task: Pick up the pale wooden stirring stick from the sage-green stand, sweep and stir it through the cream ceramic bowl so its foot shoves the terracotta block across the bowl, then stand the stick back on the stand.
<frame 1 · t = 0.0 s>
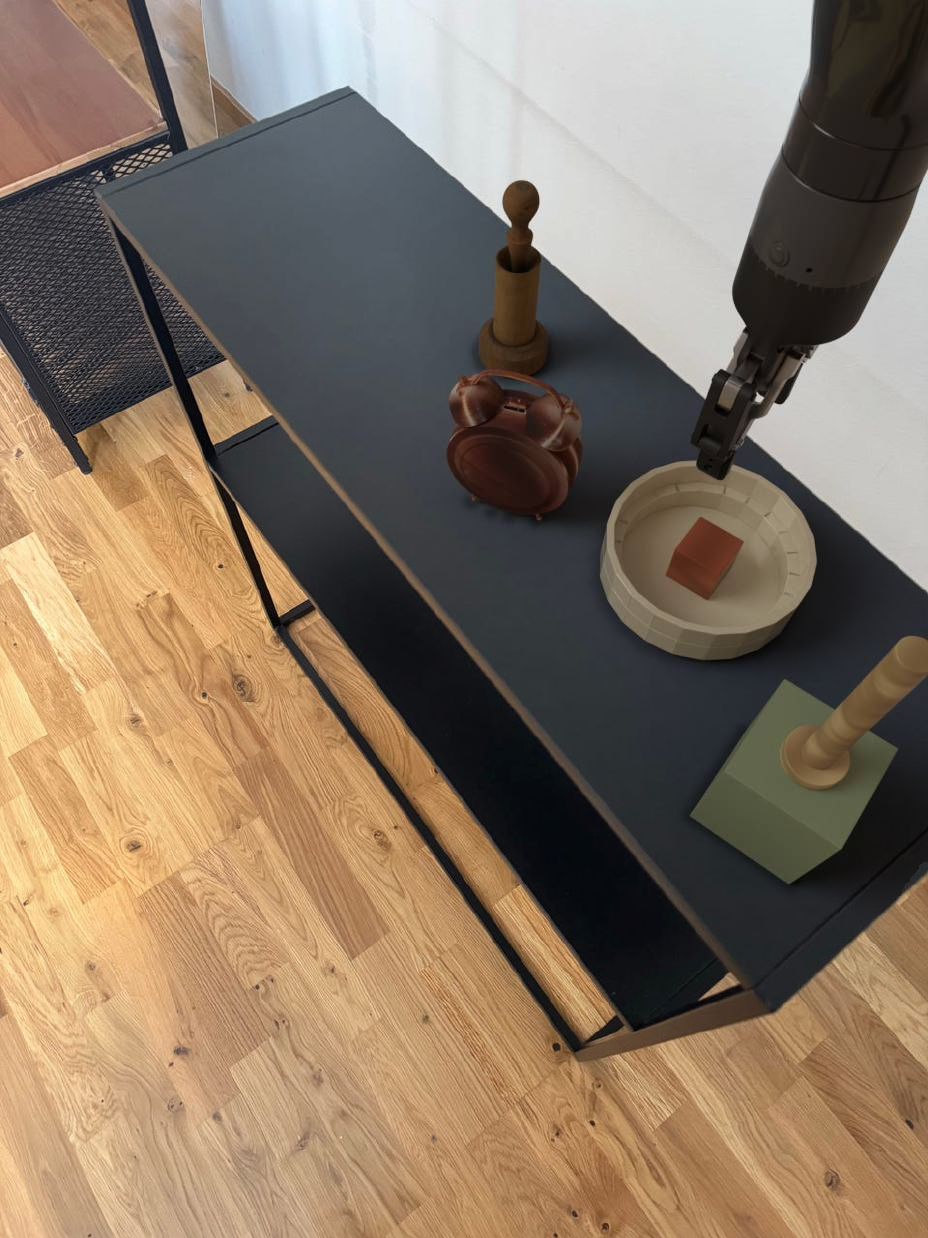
hand: (741, 433, 62), 15 cm above the table, tool pointing down, fingers open, 8 cm apart
stick: (811, 759, 55), point 10 cm above the table, touching stand
block: (698, 571, 73), point 1 cm above the table, touching bowl
bowl: (696, 575, 74), on the table
mortar and pestle: (512, 355, 86), on the table
alarm clock: (510, 499, 78), on the table
stand: (765, 806, 64), on the table
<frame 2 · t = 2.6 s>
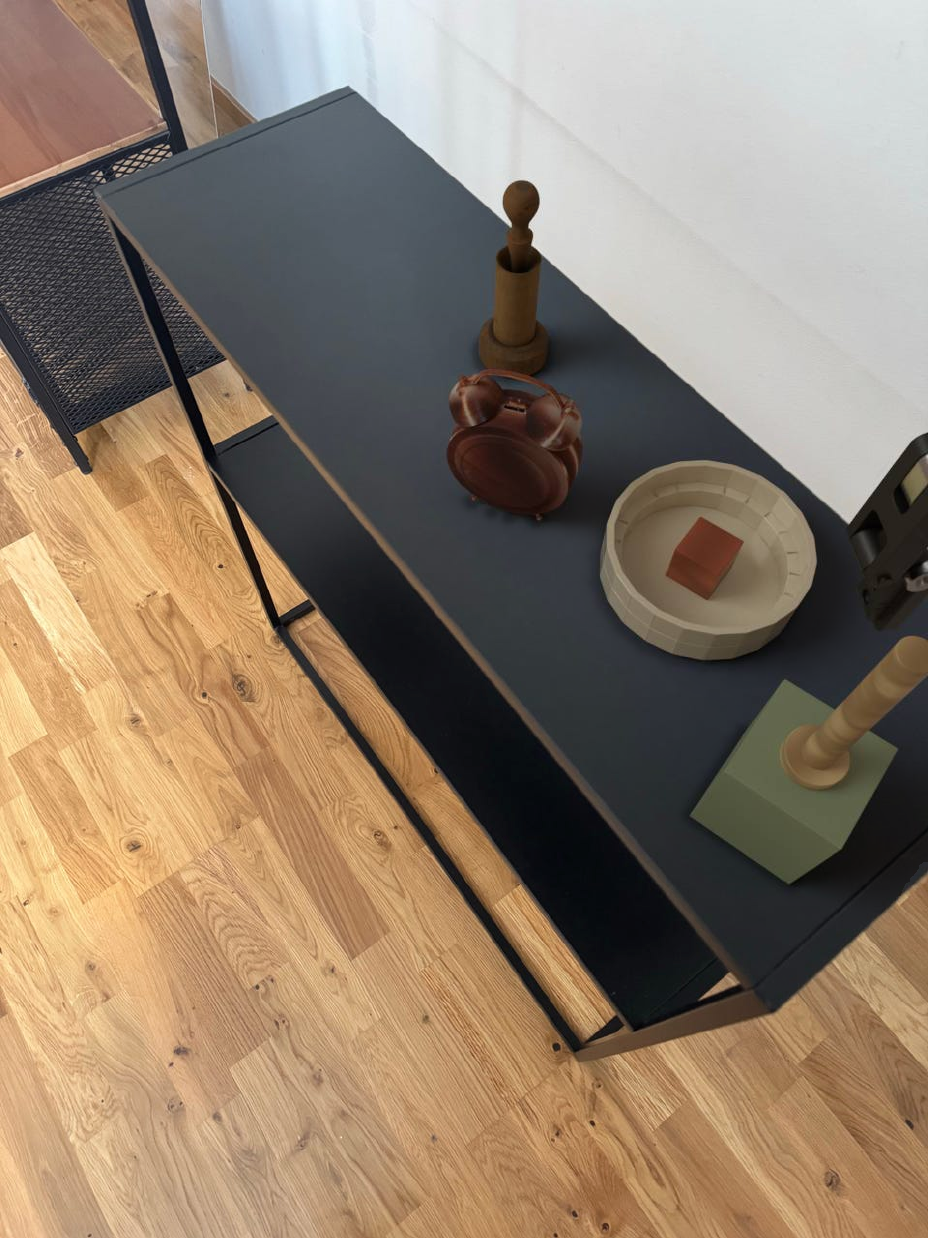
nothing on the table moved.
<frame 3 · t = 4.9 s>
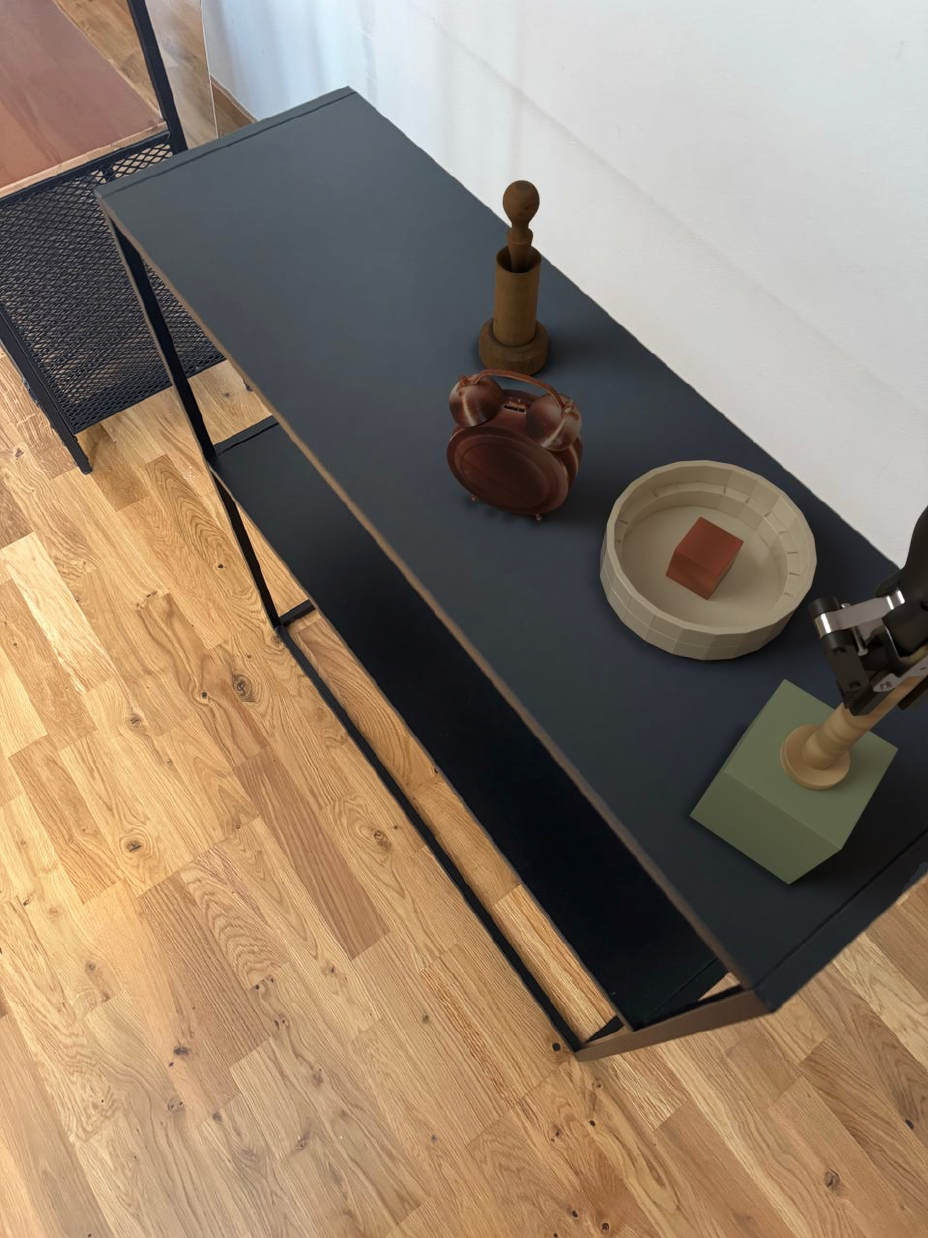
hand: (876, 695, 47), 20 cm above the table, tool pointing down, fingers closed on stick, 2 cm apart
stick: (812, 760, 55), point 10 cm above the table, touching gripper
everything else where it was.
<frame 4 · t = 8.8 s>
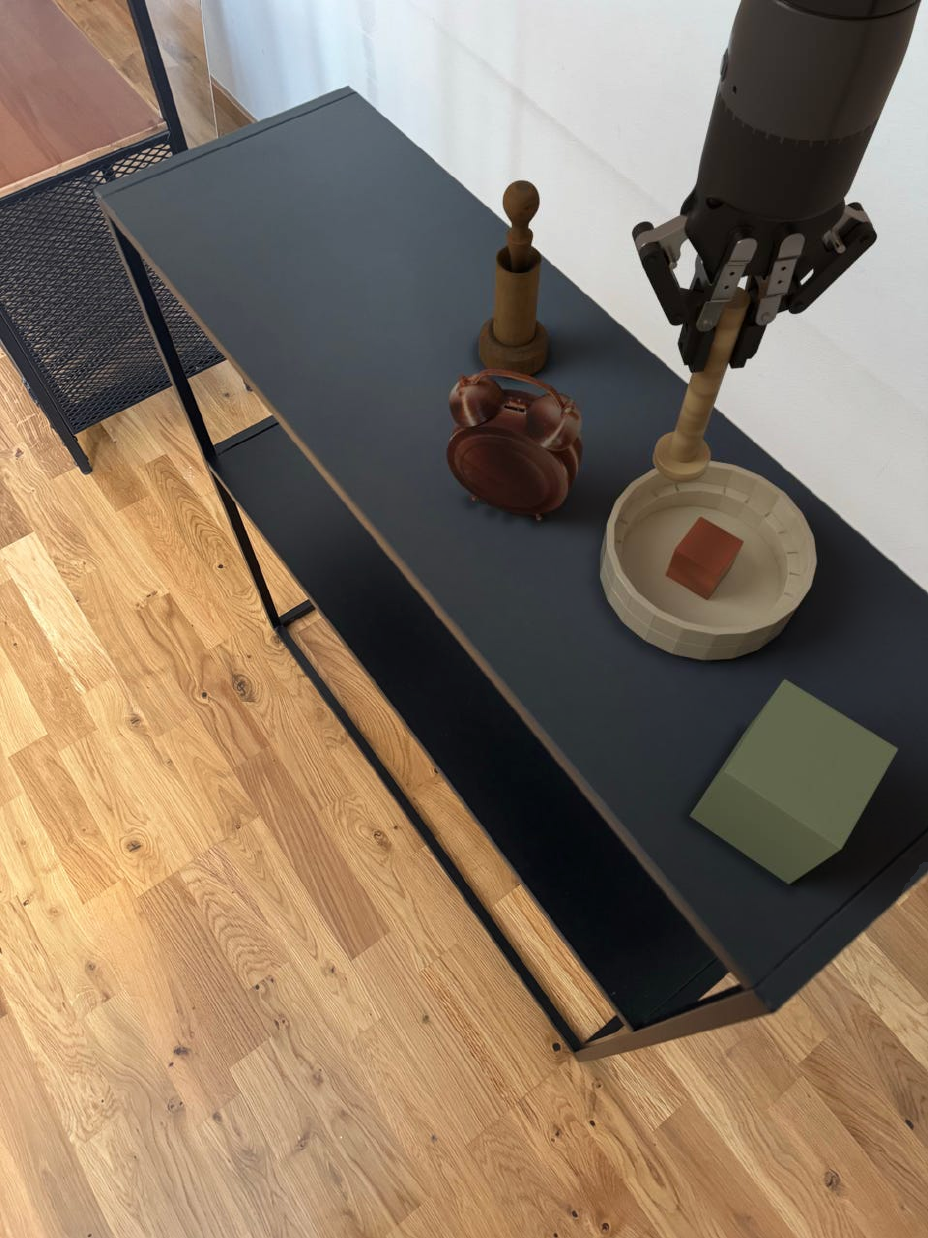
hand: (713, 359, 56), 22 cm above the table, tool pointing down, fingers closed on stick, 2 cm apart
stick: (680, 460, 65), point 12 cm above the table, touching gripper
everything else where it was.
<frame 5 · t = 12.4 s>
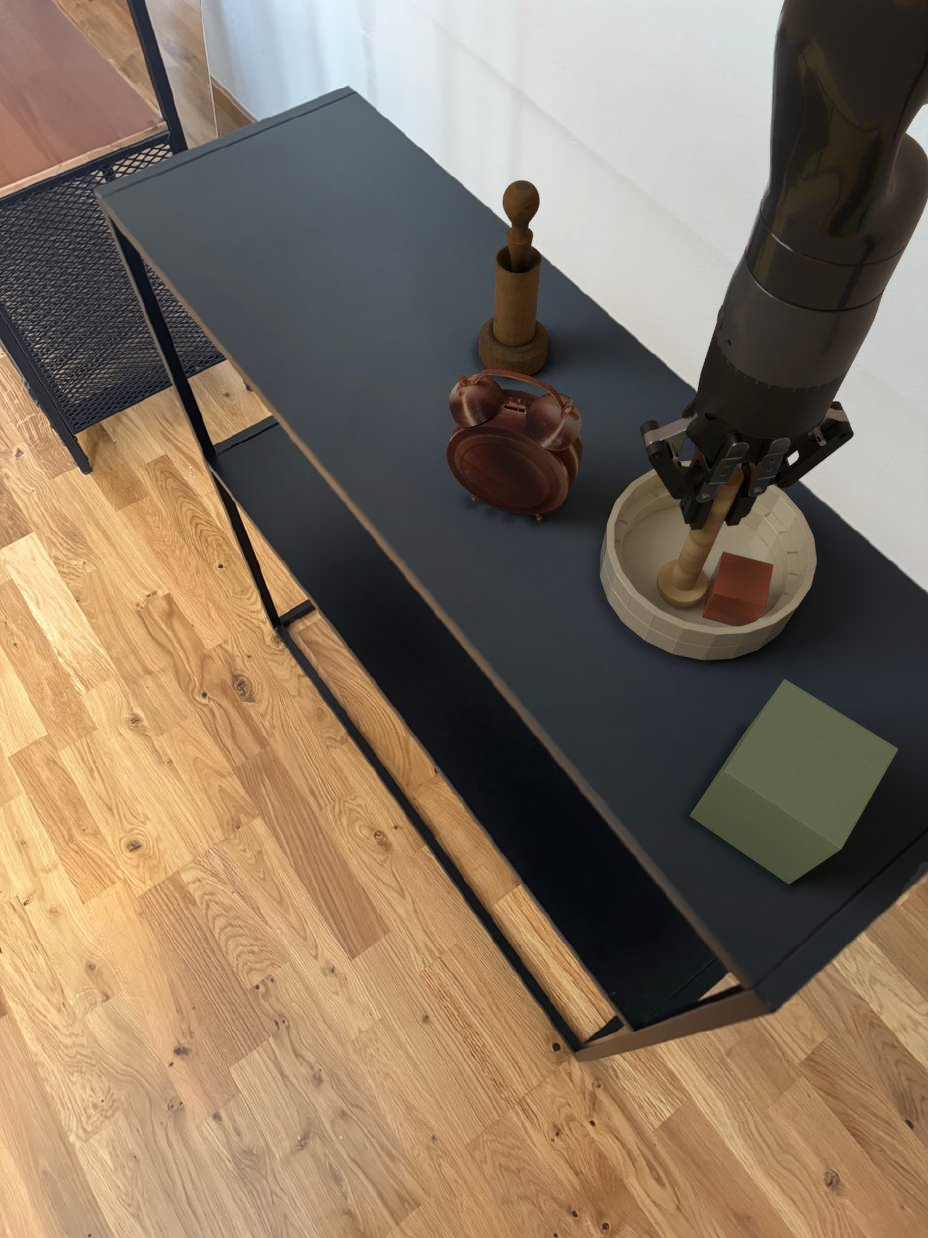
hand: (711, 517, 63), 11 cm above the table, tool pointing down, fingers closed on stick, 2 cm apart
stick: (680, 586, 72), point 1 cm above the table, touching gripper
block: (730, 603, 72), point 1 cm above the table, touching bowl
everything else where it was.
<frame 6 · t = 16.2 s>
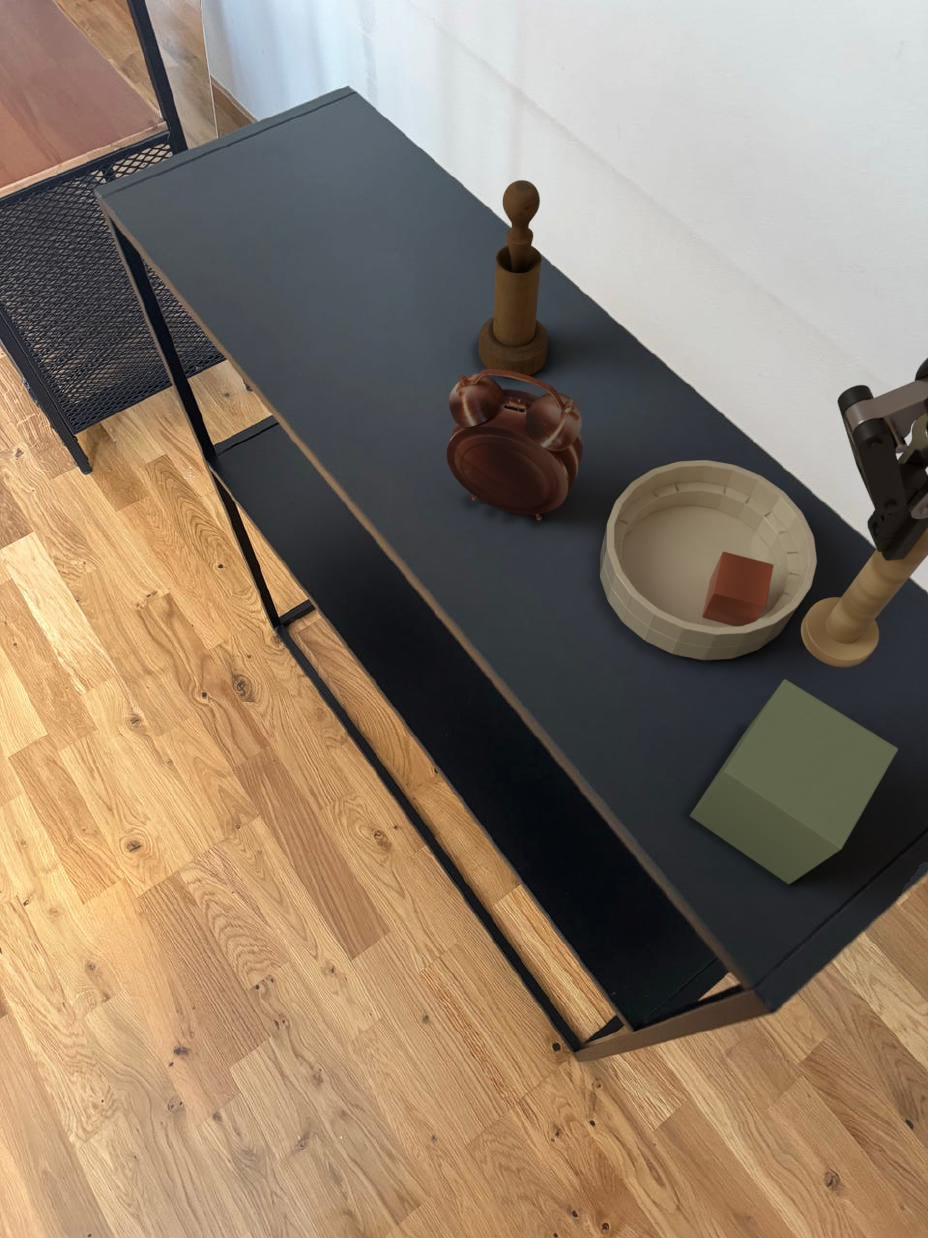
hand: (913, 540, 41), 28 cm above the table, tool pointing down, fingers closed on stick
stick: (836, 635, 50), point 18 cm above the table, touching gripper
everything else where it was.
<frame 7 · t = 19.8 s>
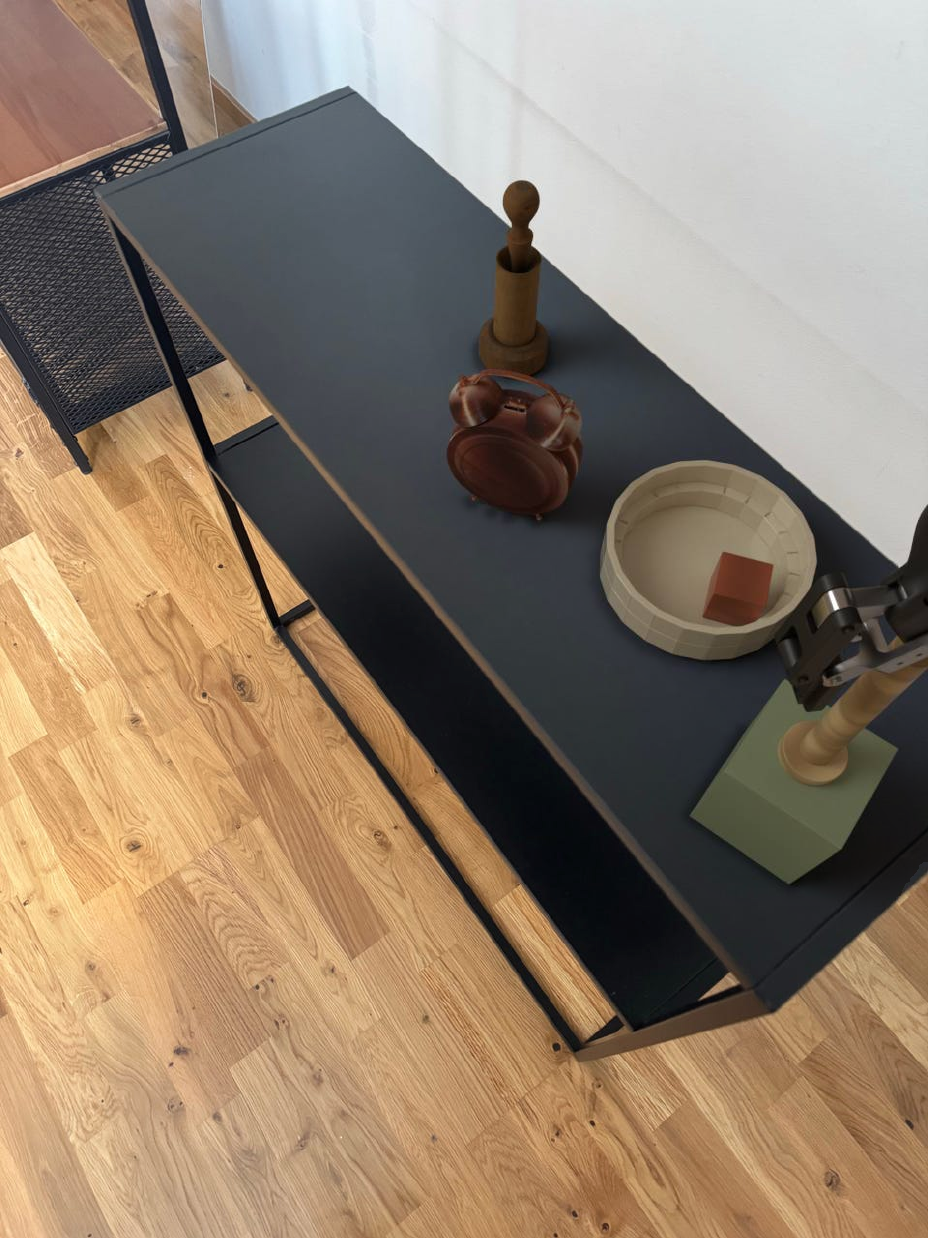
hand: (886, 684, 45), 21 cm above the table, tool pointing down, fingers open, 8 cm apart
stick: (810, 755, 56), point 10 cm above the table, touching stand
everything else where it was.
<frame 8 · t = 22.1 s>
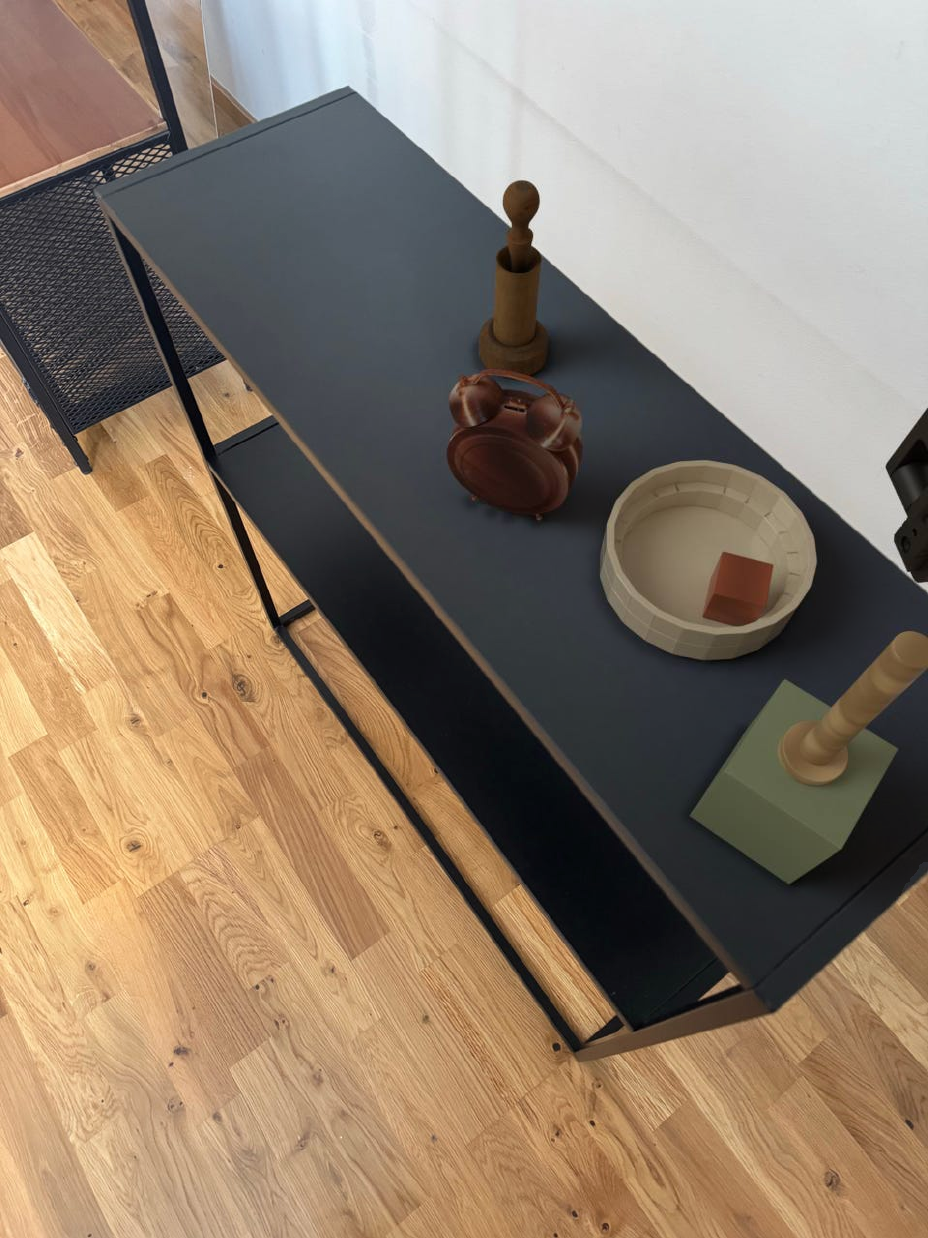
nothing on the table moved.
at the end: block moved 3.8 cm from its start; block inside the target area in the bowl (3.9 cm from its centre), point 0.6 cm above the bowl's base; stick tilted 0° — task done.
